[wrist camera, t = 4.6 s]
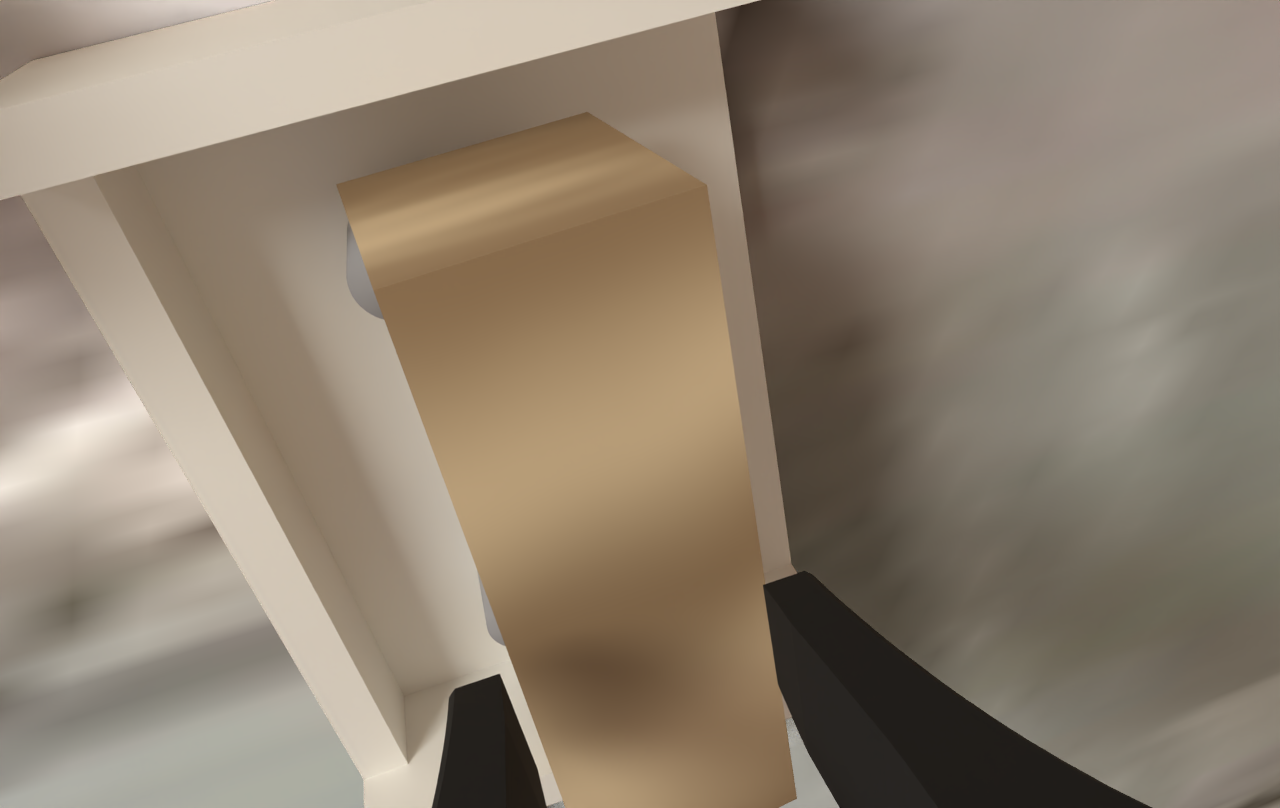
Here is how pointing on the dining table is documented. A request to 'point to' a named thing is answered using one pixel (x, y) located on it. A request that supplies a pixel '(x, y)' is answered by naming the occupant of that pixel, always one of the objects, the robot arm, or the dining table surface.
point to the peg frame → (345, 297)
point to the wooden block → (591, 451)
